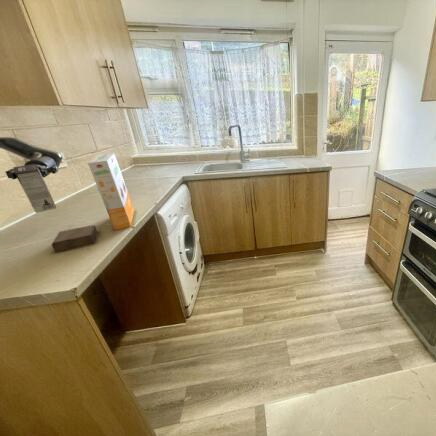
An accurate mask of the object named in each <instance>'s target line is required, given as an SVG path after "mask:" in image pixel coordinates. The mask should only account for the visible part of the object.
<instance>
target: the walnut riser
mask: <svg viewBox="0 0 436 436" xmlns="http://www.w3.org/2000/svg"><path fill="white" fill-rule="evenodd" d="M98 234H99V231H98V229H97V227H96V225H94V224H92V225H87V226H86V225H85V226H82V227H81V226H80V227H76V228H70V229H66V230H60V231H58V234H57V235H56V237H55V238H54V239H53V241H52V243H51V247H52V249H53V251H54V253H55V254H56V253H61V252H65V251H70V250H74V249H79V248H82V247H86V246H90V245H95V243H96V240H97V236H98Z"/></svg>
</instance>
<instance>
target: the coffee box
mask: <svg viewBox="0 0 436 436" xmlns="http://www.w3.org/2000/svg"><path fill="white" fill-rule="evenodd" d="M24 165H25V164H24ZM24 165H20V166H13V168H12V169H14V172H15V174H16V176H17V181H18V183H19V184H20V186H21V187H22V190H23V192H24V194H25V195H26V197H27V199H28V201H29V203H30V205H31V206H32V209H33V211H34V212H35V214H39V213H42V212H43V213H44V212H47V211H51V210H55V209H57V206H56V203H55V201H54V199H53V197H52V194H51V192H50V190H49V188H48V186H47V183H46V181H45V179H44V178H43V177H42V175H41V173H40V171H39V169H38V167H37V165H36V164H32V165H25V166H24Z"/></svg>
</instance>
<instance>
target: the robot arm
mask: <svg viewBox="0 0 436 436" xmlns="http://www.w3.org/2000/svg"><path fill="white" fill-rule="evenodd" d="M1 149H2V150H4V151H6V152H9V153H12V154H14V155H16V156H18V157H21V158H23V159H26V160H28V161H26V162H25V163H24V165H23V166H25V165H32V164H36V165H37V167H38V169H39V171H40V173H41V175H42V177H43V179H44V178H46V177H48V176H49V175H50V174H57V173H58V172H59V171H60V170H59V167H60V165H61V164H62V161H63V155H62V154H61V153H59V152H58V151H55V150H52V149H47V148H46V149H45V148H42V147H39V146H36V145H34V144H31V143H29V142H27V141H25V140H22V139H20V138H17V137H11V136H0V150H1ZM5 174H6V176H7V179H12V180H18V178H17V176H16V174H15V172H14V168H10V169H8V170H6V171H5Z"/></svg>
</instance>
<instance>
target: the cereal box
mask: <svg viewBox="0 0 436 436" xmlns="http://www.w3.org/2000/svg"><path fill="white" fill-rule="evenodd" d="M87 164H88V167H89V169H90V173H91V174H92V177H93V179H94V182H95V185H96V187H97V190H98V192H99V194H100V197H101V199H102V202H103V204H104V207H105V209H106V211H107V214H108V217H109V220H110V222H111V225H112V227H113V229H114V230H120V229H125V228H129V227H131V226H132V223H133V217H134V214H135V208H134V206H133V203H132V201H131V200H132V199H131V197H130V194H129V191H128V188H127V185H126V182H125V180H124V177H123V174H122V170H121V168H120V165H119V162H118V159H117V157H116V153H114V152H112V153H104V154H98V155H97V156H95V157H93V159H91V160H90V161H89V162H87Z"/></svg>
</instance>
